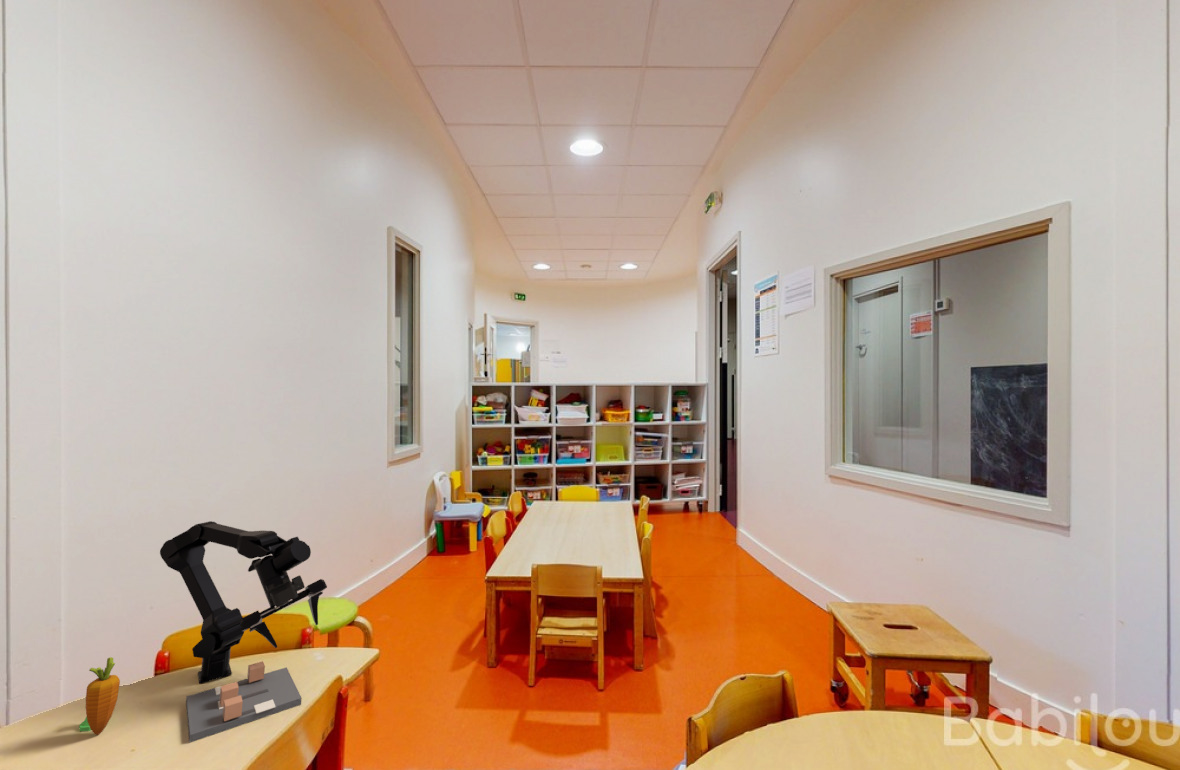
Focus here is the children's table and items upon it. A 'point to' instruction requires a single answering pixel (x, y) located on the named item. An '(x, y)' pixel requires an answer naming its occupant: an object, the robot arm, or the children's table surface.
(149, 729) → the children's table surface
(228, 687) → the slider middle
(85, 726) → the game piece
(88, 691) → the carrot
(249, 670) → the slider far
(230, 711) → the slider near
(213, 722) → the switch console
